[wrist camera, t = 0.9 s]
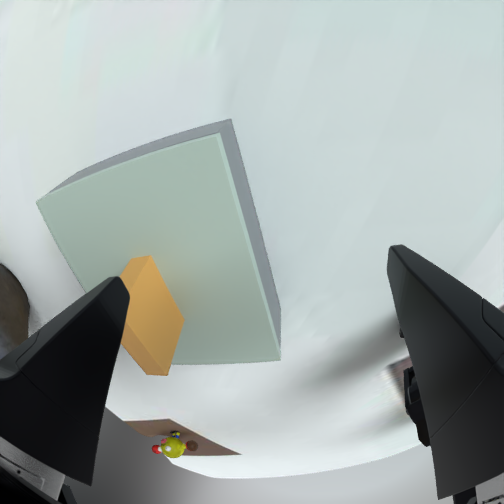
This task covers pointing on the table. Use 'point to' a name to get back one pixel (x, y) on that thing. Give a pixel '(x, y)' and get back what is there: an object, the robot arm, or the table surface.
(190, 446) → the toy figure
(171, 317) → the lid
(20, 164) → the table surface
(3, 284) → the pitcher
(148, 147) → the tub
